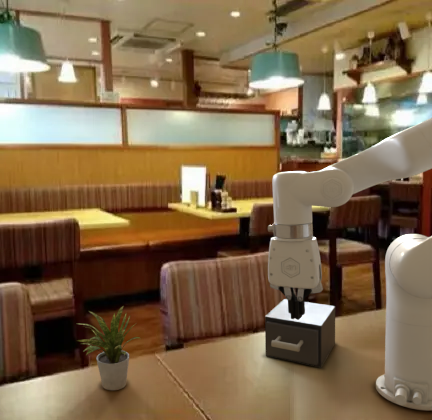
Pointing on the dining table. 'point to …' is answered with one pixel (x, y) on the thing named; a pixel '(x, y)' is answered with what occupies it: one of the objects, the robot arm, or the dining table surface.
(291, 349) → the pull-out drawer
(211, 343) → the dining table surface
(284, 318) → the drawer cabinet
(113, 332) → the house plant
